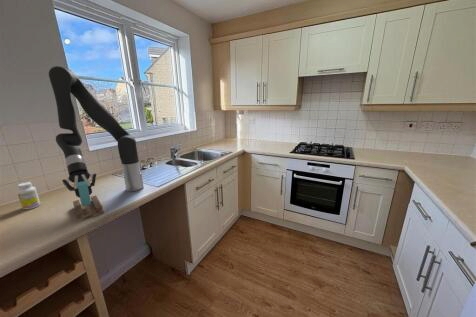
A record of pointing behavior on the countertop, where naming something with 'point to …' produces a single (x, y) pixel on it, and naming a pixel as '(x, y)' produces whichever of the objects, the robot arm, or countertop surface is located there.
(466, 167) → the countertop surface
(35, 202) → the supplement bottle
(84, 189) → the teal rectangular block
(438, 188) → the countertop surface
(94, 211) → the wooden cradle
